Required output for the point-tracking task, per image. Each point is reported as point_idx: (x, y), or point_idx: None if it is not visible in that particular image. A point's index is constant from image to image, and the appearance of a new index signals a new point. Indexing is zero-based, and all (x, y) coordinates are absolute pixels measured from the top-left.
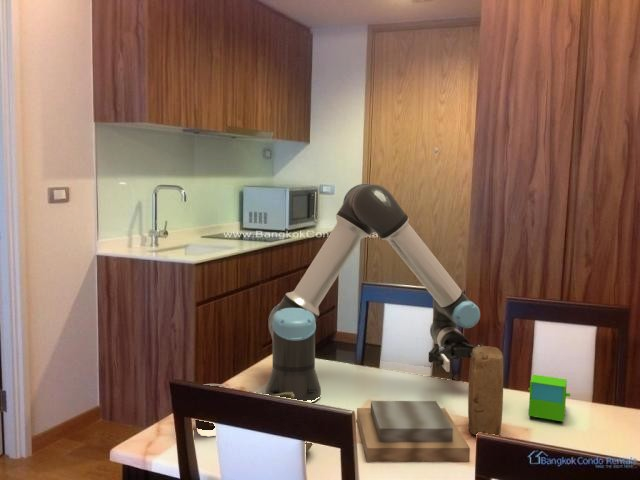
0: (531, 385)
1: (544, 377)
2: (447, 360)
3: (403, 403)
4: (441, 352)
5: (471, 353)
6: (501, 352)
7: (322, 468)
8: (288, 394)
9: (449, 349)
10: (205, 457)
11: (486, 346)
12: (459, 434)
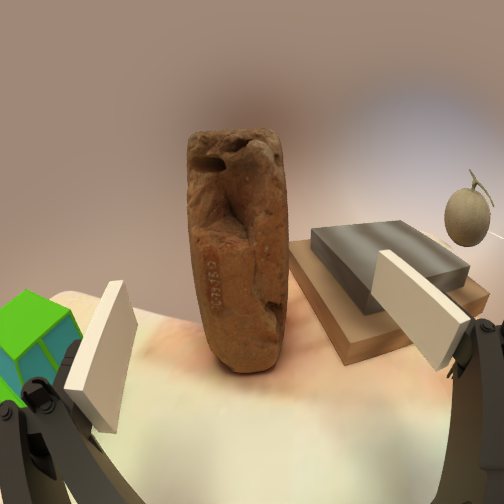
0: (72, 318)
1: (9, 336)
2: (393, 257)
3: (422, 268)
4: (488, 354)
5: (282, 153)
6: (6, 404)
7: (424, 234)
8: (473, 178)
9: (481, 449)
10: (496, 234)
11: (227, 130)
12: (301, 262)
